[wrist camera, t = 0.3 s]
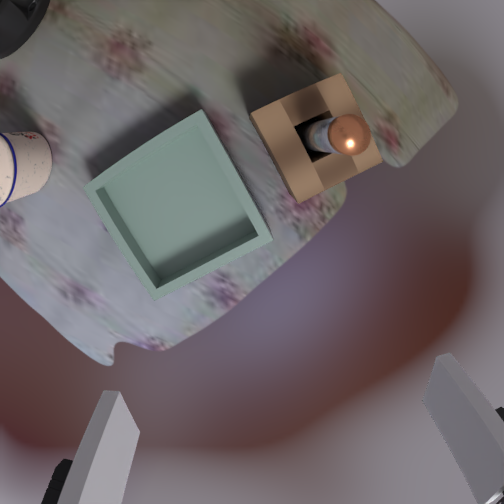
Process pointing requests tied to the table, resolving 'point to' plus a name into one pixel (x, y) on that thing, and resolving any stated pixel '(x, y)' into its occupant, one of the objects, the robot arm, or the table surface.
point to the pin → (336, 135)
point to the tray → (178, 207)
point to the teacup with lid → (23, 164)
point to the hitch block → (291, 148)
